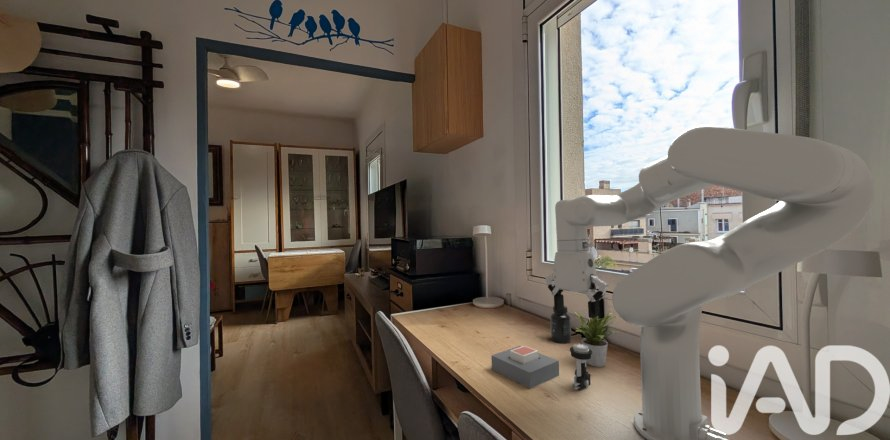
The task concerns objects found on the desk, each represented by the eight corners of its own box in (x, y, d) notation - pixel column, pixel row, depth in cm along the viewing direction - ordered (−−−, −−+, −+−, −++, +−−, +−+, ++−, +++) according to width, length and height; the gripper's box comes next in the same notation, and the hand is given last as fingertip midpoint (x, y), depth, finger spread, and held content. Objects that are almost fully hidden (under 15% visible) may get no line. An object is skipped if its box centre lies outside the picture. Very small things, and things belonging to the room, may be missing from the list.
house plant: (637, 375, 86) (635, 314, 87) (586, 376, 86) (584, 315, 87) (609, 354, 101) (608, 302, 101) (566, 355, 100) (564, 303, 101)
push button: (585, 395, 77) (584, 353, 77) (564, 387, 81) (563, 347, 81) (596, 385, 81) (595, 346, 81) (576, 378, 85) (575, 341, 85)
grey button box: (559, 375, 87) (558, 360, 87) (530, 388, 80) (529, 372, 80) (520, 358, 99) (519, 345, 99) (491, 369, 92) (491, 355, 92)
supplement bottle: (547, 338, 117) (546, 305, 117) (563, 336, 118) (562, 303, 119) (558, 344, 110) (557, 309, 110) (575, 342, 112) (574, 308, 112)
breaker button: (538, 363, 89) (538, 350, 89) (524, 369, 86) (523, 356, 86) (524, 357, 93) (524, 345, 93) (510, 363, 90) (510, 350, 90)
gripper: (613, 246, 78) (617, 317, 77) (553, 246, 92) (556, 305, 91) (596, 248, 73) (600, 323, 73) (536, 247, 88) (539, 309, 87)
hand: (575, 313), depth 82 cm, fingers open, 9 cm apart
